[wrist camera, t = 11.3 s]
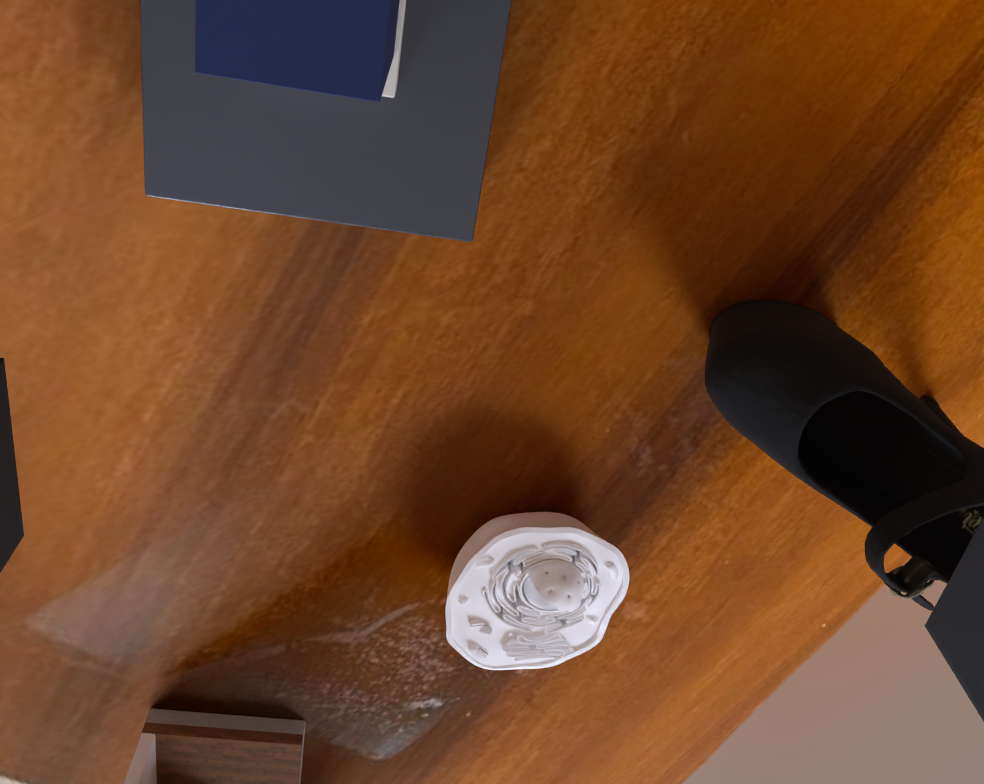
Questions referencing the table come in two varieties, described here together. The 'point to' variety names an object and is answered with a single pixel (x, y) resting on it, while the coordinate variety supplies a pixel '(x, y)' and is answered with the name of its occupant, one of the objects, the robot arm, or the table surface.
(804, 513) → the table surface
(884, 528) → the high-heeled shoe
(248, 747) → the white architectural model
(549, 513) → the cell model
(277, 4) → the navy block on base
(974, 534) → the robot arm
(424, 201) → the shoe shelf
